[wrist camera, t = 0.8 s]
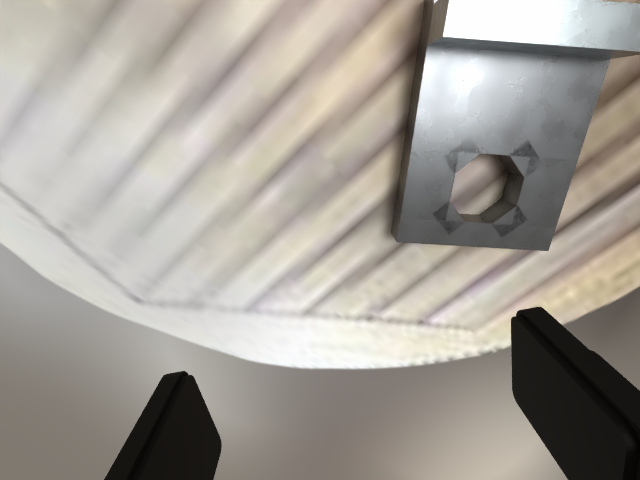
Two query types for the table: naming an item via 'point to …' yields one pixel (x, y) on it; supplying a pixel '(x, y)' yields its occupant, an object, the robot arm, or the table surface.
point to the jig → (504, 112)
